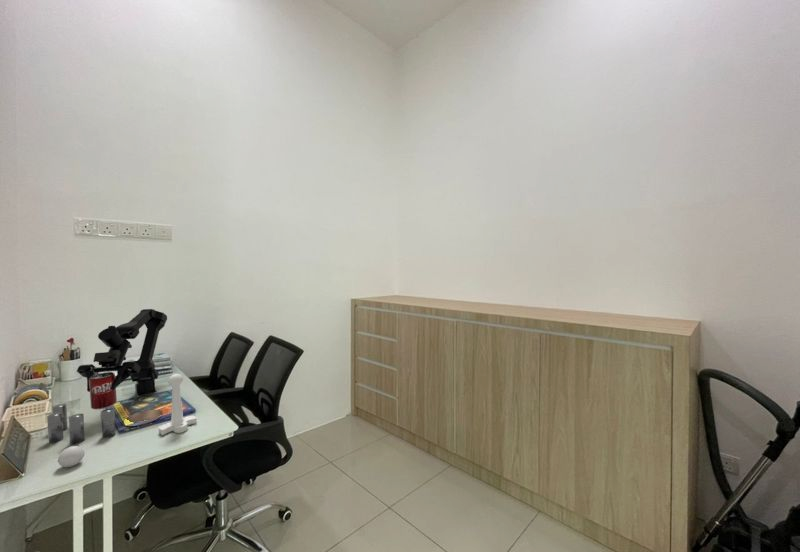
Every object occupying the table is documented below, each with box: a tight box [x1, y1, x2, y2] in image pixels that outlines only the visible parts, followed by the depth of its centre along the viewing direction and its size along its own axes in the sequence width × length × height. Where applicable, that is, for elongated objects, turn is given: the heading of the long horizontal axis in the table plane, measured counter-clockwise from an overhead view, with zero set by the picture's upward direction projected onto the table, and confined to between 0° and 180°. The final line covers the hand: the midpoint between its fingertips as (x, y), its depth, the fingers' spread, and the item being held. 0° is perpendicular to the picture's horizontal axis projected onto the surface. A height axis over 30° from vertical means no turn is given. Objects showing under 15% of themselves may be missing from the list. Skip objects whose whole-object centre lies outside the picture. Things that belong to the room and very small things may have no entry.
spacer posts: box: [46, 403, 117, 446], centre depth 112 cm, size 9×25×9 cm, turn 79°
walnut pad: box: [125, 409, 164, 422], centre depth 125 cm, size 12×12×1 cm
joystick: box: [158, 373, 198, 436], centre depth 117 cm, size 11×8×20 cm
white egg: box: [54, 445, 85, 468], centre depth 96 cm, size 8×6×6 cm
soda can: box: [89, 371, 118, 411], centre depth 122 cm, size 7×7×12 cm
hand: (100, 390), depth 121 cm, fingers closed on soda can, 7 cm apart
